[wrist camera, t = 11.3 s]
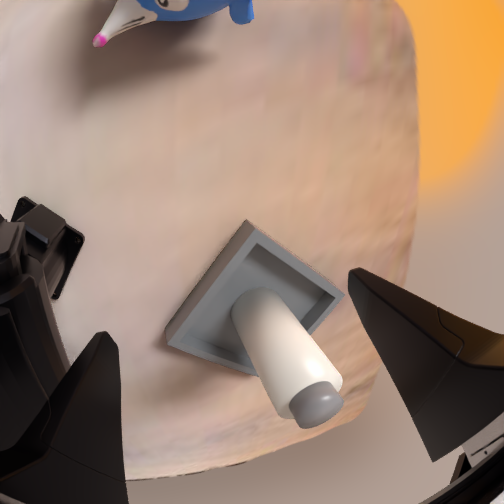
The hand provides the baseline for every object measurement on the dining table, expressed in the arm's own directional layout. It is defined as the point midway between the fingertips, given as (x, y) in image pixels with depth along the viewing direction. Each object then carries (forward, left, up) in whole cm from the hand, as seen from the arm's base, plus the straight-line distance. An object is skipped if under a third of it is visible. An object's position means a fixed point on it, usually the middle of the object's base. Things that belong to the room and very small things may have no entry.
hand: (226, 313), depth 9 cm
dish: (-4, -10, -13) cm, 17 cm away
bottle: (-4, -10, -12) cm, 16 cm away
